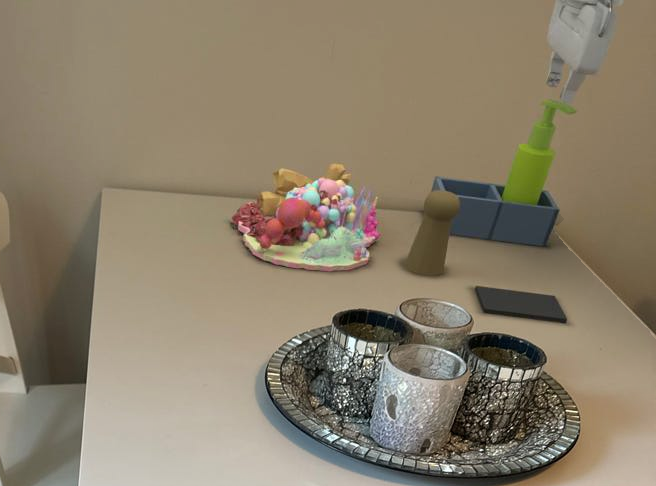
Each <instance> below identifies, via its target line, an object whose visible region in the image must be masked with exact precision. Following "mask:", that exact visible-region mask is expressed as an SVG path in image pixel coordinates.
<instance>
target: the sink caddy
mask: <svg viewBox="0 0 656 486" xmlns="http://www.w3.org/2000/svg"><path fill="white" fill-rule="evenodd" d="M505 186H506V184H498V183H492V182H491V183H490V182H484V181H483V182H482V181H476V180H475V181H474V180H466V179H461V178H460V179H459V178H451V177H443V176H438V175H437V176H434V180H433V184H432V187H431V190H430V192H432V191H436V190H443V191H448V192H451V193H454V194H455V195H457V196H458V197H459V200H460V208H459V211H458V213H457V215H456V216H455V217H454V218H453V219H452V223H451V229H450V235H451V236H460V237H467V238H474V239H475V238H476V239H483V240H490V241H497V242H506V243H513V244H514V243H515V244H522V245H529V246H537V247H546V248H547V245H548V242H549V240H550V237H551V235H552V232H553V229H554V226H555V224H556V221H557V218H558V216H559V213H560V211H561V210H560V207H559V206H558V204H557V202H556V201H555V200H554V198H553V197H552V195H551V194H550V192H549V191H548V190H545V189H542V192H541V195H540V198H539V200H538V203H537V205H531V204H523V203H515V202H507V201H502V199H501V198H502V195H503V192H504V189H505ZM450 235H449V236H450Z"/></svg>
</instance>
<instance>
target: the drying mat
mask: <svg viewBox="0 0 656 486" xmlns="http://www.w3.org/2000/svg"><path fill="white" fill-rule="evenodd" d="M474 291H475V293H476V296H477V299H478V301H479V304H480V307H481V309H482V312H483V313H485V314H494V315H502V316H510V317H515V318H516V317H517V318H525V319H533V320H541V321H549V322H557V323H565V324H567V320H568V318H567V316H566V314H565V312H564V310H563V308H562V307H561V304H560V302H559V301H558V299H557V298H556V296H555V295H551V294H543V293H537V292H528V291H521V290H513V289H505V288H498V287H490V286H481V285H475V287H474Z"/></svg>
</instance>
